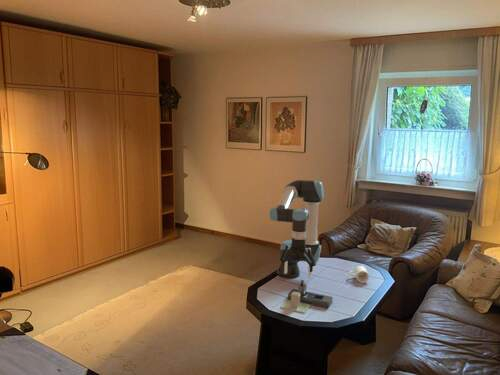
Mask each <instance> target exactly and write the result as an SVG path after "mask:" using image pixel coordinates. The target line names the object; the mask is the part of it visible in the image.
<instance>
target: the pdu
mask: <svg viewBox="0 0 500 375" xmlns="http://www.w3.org/2000/svg"><path fill="white" fill-rule="evenodd" d="M304 281H305V280H303V279H302V280H300V283H299V284H298V285H297V289H295V288H292V289H291V290H290V291H289V292H288V294H287V300H291V294H292V293H293V291H294V292H299V293H300V303H304V304H309V305H310V306H315V307H320V308H324V309H325V308H326V309H329V308H330V307H331V305H332V304H333V298H334V297H333V296H331V295H325V294H320V293H317V292H316V293H315V292H310V291H307V284H304Z"/></svg>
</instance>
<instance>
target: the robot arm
mask: <svg viewBox="0 0 500 375" xmlns="http://www.w3.org/2000/svg"><path fill="white" fill-rule="evenodd" d="M324 193H325V192H324V186H323V182H321V181H319V180H306V179H305V180H301V179H298V180H293V181H291V182H289V183H288V184H286V185H285V187H284V188H283V190H282V196H281V198H280V200H279V202H278V204H277V206H276V207H271V208H270V209H269V219H270V221H274V222H283V223H291V224H292V225H291V227H292V228H291V239H286V240H284V241H282V242H281V243H280V249H279V250H280V255H279V256H280V257H279V261H280V263H279V265H278V267H277V272H276V274H277V276H279V277H281V276H282V277H281V278H284V277H285V279H295V278H298V277H300V273H301V272H300V267H299V265H298V264H299V263H298V262H299V261H300V262H305V263H307V265H308V267H307V279H310V278H311V274H312V272H313V271H314V270H313V269H314V267H316V266H317V263H318V262H319V259H320V256H321V252H322V245H321V244H320V241H318V223H319V220H318V219H319V204H320V203H322V200H324V197H325V196H324V195H325V194H324ZM296 198H297V199H299V198H300V199H302V201H303V204H305V205H304V208H296V209H294V208H291V207H292V204H293V202H294V200H296Z"/></svg>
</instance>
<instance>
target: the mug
mask: <svg viewBox="0 0 500 375" xmlns="http://www.w3.org/2000/svg"><path fill="white" fill-rule="evenodd" d="M348 274H349V276H351V277H355V278H356V280H357V282H359V283H366V282H368V281H369V279H370V275H369V272H368V270H367V269H366V267H365V266H363V265H358V266H356V267H355V268H354V269H353V270H350V271H349V272H348Z"/></svg>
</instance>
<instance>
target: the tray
mask: <svg viewBox="0 0 500 375" xmlns="http://www.w3.org/2000/svg"><path fill="white" fill-rule="evenodd" d="M310 307H311V304H306V303H301V302H300V307H299V308H298V309H295V308H291V300H288V299H286V300H285V301H283V303H282V305H280V307H279V308H280V309H282V310H283V309H284V310H287V311H291V312H297V313H300V314H306V312H307V311H308V309H309V308H310Z"/></svg>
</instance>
